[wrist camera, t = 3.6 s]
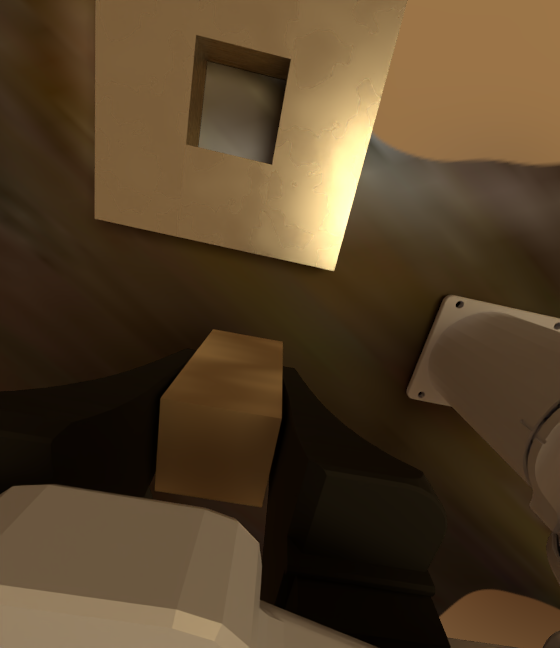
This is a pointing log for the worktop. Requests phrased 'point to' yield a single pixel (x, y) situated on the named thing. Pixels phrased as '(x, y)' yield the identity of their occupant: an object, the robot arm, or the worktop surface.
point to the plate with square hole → (186, 111)
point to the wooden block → (222, 420)
